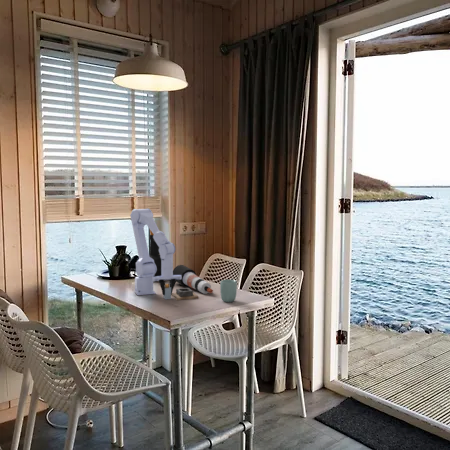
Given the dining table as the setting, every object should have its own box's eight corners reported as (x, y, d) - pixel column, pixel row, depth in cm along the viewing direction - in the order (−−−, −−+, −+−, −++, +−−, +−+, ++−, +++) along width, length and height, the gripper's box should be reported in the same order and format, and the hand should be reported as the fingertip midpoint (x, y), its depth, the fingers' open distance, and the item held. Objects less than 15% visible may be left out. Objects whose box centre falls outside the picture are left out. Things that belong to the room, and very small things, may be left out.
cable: (206, 304, 226) (200, 288, 221) (176, 285, 253) (169, 270, 249) (222, 293, 230) (215, 278, 226) (190, 275, 257) (183, 261, 253)
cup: (229, 298, 221) (229, 278, 220) (239, 301, 215) (239, 281, 214) (217, 301, 215) (217, 280, 215) (227, 304, 210) (227, 283, 209)
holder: (176, 300, 216) (176, 293, 216) (171, 295, 226) (171, 288, 226) (198, 298, 220) (198, 291, 220) (191, 293, 231) (191, 286, 230)
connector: (165, 299, 218) (165, 285, 217) (163, 297, 221) (163, 283, 221) (171, 298, 219) (171, 284, 218) (169, 297, 222) (169, 283, 222)
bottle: (135, 278, 266) (135, 229, 264) (158, 275, 278) (158, 227, 275) (150, 282, 255) (150, 231, 252) (173, 279, 266) (173, 229, 263)
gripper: (154, 269, 212) (154, 297, 213) (183, 268, 218) (183, 295, 219) (151, 267, 219) (151, 294, 220) (179, 265, 224) (179, 291, 225)
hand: (167, 294), depth 220 cm, fingers closed on connector, 3 cm apart
